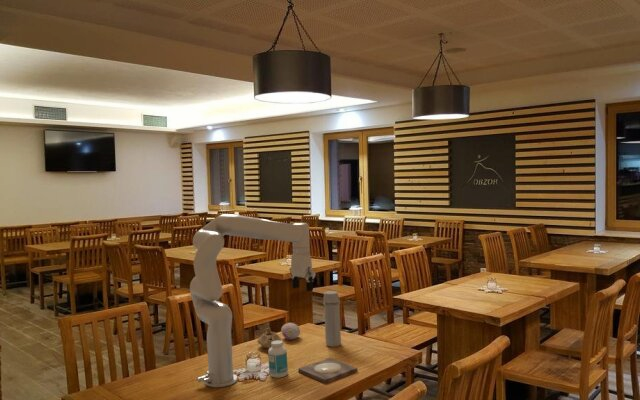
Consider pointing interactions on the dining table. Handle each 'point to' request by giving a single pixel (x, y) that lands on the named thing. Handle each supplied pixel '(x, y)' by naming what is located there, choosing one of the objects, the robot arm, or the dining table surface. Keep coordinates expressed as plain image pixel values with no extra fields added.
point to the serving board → (327, 370)
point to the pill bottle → (277, 360)
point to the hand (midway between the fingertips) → (302, 289)
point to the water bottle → (332, 318)
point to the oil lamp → (268, 338)
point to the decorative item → (290, 331)
